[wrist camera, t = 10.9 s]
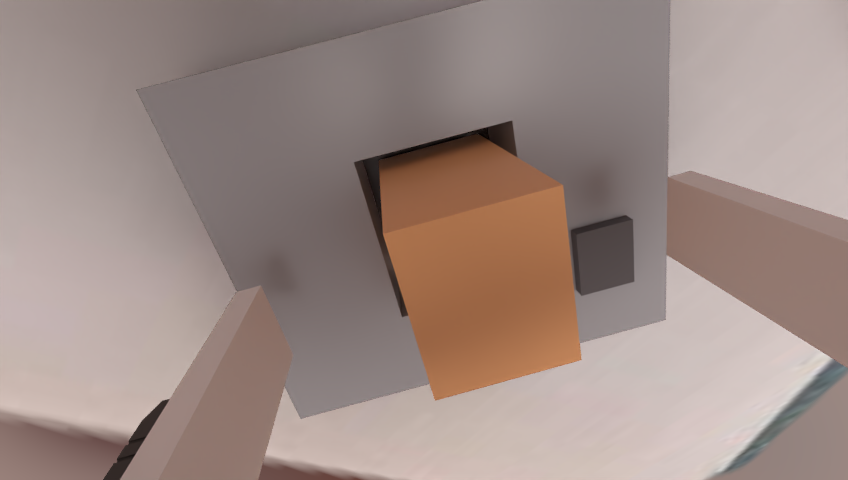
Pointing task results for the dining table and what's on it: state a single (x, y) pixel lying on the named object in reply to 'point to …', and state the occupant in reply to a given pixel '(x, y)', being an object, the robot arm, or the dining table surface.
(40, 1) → the dining table surface
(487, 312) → the plug
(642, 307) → the socket box
